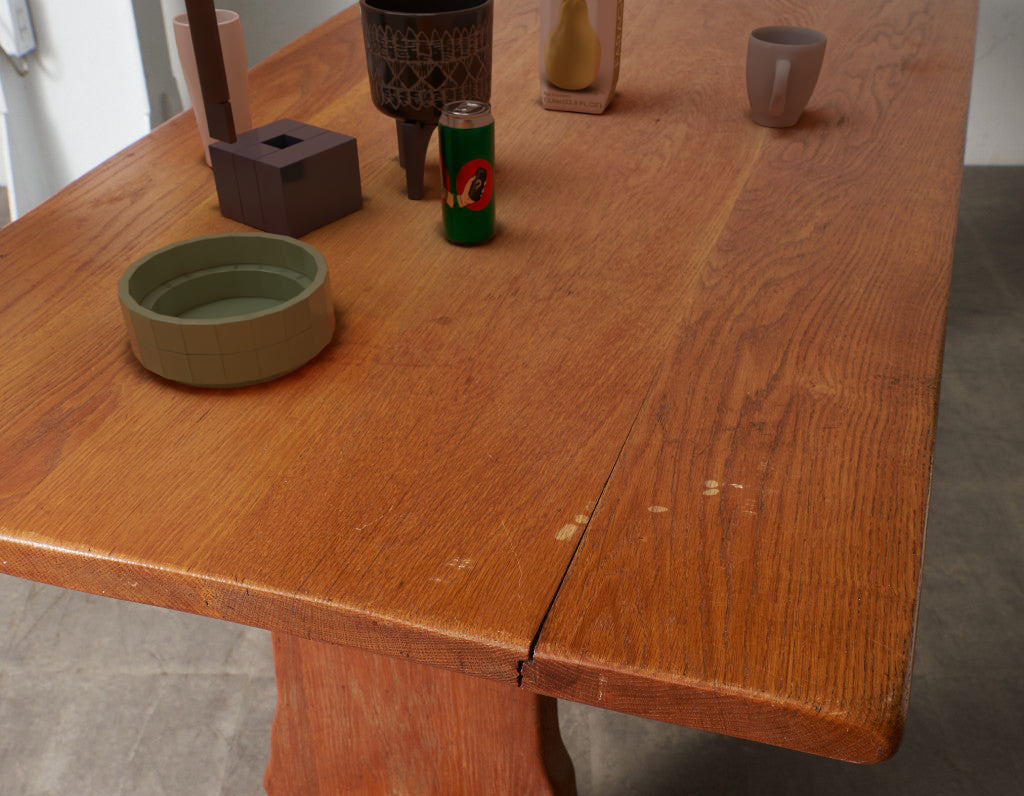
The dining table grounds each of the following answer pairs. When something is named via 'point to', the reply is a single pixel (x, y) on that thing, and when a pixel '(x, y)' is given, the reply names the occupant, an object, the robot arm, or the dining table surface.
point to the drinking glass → (233, 66)
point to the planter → (425, 67)
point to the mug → (782, 72)
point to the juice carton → (579, 53)
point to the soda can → (467, 172)
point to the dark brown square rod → (211, 69)
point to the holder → (287, 177)
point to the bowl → (228, 308)
